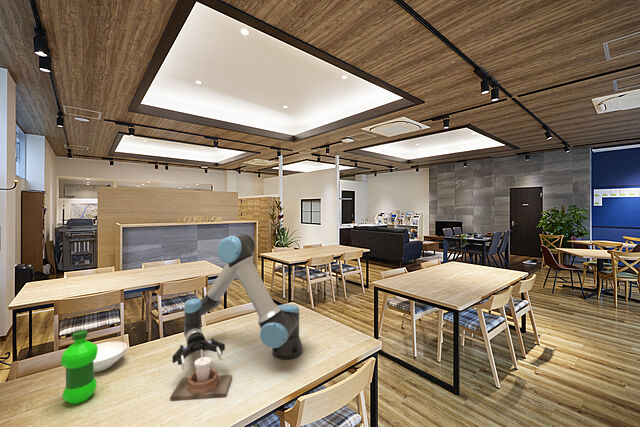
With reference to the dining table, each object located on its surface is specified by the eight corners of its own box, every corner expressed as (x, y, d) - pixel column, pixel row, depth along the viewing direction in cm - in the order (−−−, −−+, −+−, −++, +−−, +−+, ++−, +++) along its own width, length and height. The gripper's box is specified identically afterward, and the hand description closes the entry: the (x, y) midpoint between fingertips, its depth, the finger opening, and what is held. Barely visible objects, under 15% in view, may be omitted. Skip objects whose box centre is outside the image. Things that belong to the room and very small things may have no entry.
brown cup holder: (232, 378, 118) (232, 366, 118) (225, 397, 106) (225, 383, 106) (182, 381, 116) (182, 369, 115) (170, 400, 104) (170, 387, 104)
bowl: (64, 385, 112) (64, 368, 112) (79, 362, 130) (78, 346, 130) (123, 372, 121) (123, 356, 121) (129, 352, 139) (129, 338, 139)
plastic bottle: (73, 412, 98) (73, 340, 97) (55, 404, 101) (54, 336, 101) (104, 394, 107) (103, 329, 107) (86, 388, 111) (86, 325, 111)
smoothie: (197, 380, 114) (197, 346, 113) (213, 379, 114) (213, 345, 114) (191, 390, 107) (191, 354, 107) (208, 389, 108) (208, 353, 108)
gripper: (223, 341, 135) (234, 362, 117) (164, 355, 122) (166, 380, 104) (223, 326, 135) (234, 344, 116) (164, 338, 122) (166, 360, 104)
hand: (202, 361), depth 110 cm, fingers open, 13 cm apart
